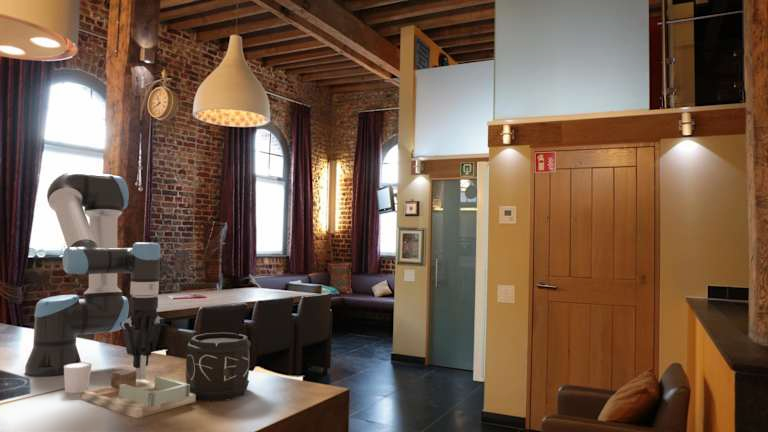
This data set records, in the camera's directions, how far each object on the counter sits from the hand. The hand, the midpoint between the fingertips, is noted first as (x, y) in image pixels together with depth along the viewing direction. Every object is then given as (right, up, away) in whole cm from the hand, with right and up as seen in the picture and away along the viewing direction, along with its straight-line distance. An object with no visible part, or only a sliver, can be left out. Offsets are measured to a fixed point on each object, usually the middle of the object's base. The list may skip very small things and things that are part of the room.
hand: (140, 378), depth 156 cm
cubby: (+10, -1, -13) cm, 16 cm away
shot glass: (-17, -3, -3) cm, 17 cm away
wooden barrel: (+23, -4, -1) cm, 23 cm away
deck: (+4, -3, -10) cm, 12 cm away
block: (-2, -1, -5) cm, 6 cm away
